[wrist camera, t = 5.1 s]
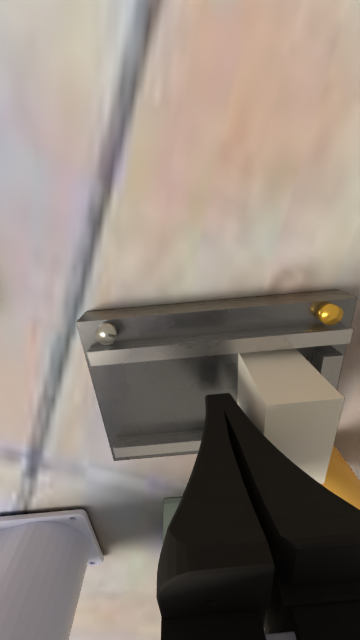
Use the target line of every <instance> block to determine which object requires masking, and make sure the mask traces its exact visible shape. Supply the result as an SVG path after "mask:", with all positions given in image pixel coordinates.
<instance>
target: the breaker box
mask: <svg viewBox="0 0 360 640" xmlns="http://www.w3.org/2000/svg"><path fill="white" fill-rule="evenodd" d="M356 300H357V297H354V296H352V295H349V294H347V293H344V292H342V291H340V290H327V291H316V292H304V293H293V294H281V295H270V296H259V297H247V298H236V299H224V300H213V301H202V302H190V303H179V304H167V305H156V306H144V307H133V308H122V309H110V310H99V311H87V312H85V313H84V314H83V315H82V316H81V318H80V319H79V320H78V321H77V322H76V324H77V328H78V331H79V335H80V339H81V342H82V346H83V350H84V353H85V357H86V361H87V364H88V368H89V371H90V375H91V379H92V382H93V386H94V390H95V393H96V397H97V401H98V404H99V408H100V411H101V415H102V419H103V422H104V426H105V430H106V433H107V437H108V441H109V444H110V448H111V452H112V455H113V459H114V461H118V460H129V459H140V458H152V457H163V456H174V455H185V454H196V453H198V452H199V448H200V444H201V439H202V435H203V430H204V423H205V416H206V408H205V396H206V395H211V394H222V393H230V394H231V395H232V397H233V398H234V400H235V401H236V402H237V393H238V353H247V352H258V351H270V350H281V349H292V348H296V349H297V350H298V351H299V352H300V353H301V355H302V356H303V357H304V358H305V359H306V360H307V361H308V362H309V363H310V364H311V365H312V366H313V367H314V368H315V369H316V370H317V371H318V372H319V373H320V374H321V375H322V376H323V377H324V378H325V379H326V380H327V381H328V382H329V383H330V384H331V385H332V386H333V387H334V388H335V389H336V390H337V386H338V381H339V377H340V372H341V368H342V363H343V359H344V354H345V350H346V345H347V344H349V343H350V341H351V337H352V332H353V328H351V323H352V318H353V314H354V309H355V305H356Z"/></svg>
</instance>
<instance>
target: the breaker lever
mask: <svg viewBox="0 0 360 640" xmlns="http://www.w3.org/2000/svg"><path fill="white" fill-rule="evenodd" d="M344 399H345V398H344V397H343V396H342V395H341V394H340V393H339V392H338V391H337V390H336V389H335V388H334V387H333V386H332V385H331V384H330V383H329V382H328V381H327V380H326V379H325V378H324V377H323V376H322V375H321V374H320V373H319V372H318V371H317V370H316V369H315V368H314V367H313V366H312V365H311V364H310V363H309V362H308V361H307V360H306V359H305V358H304V357H303V356H302V355H301V353H300V352H299V351H298V350H297V349H296V348H292V349H281V350H270V351H258V352H247V353H238V393H237V404H238V405H239V407H240V408H241V409H242V410H243V412H244V413H245V414H246V415H247V417H248V418H249V419H250V420H251V421H252V423H253V424H254V425H255V426H256V427H257V428H258V429H259V430H260V432H261V433H262V434H263V435H264V436H265V437H266V438H267V439H268V440H269V441H270V442H271V443H272V444H273V445H274V446H275V447H276V448H277V449H278V450H279V451H281V452H282V453H283V454H284V455H285V456H286V457H287V458H288V459H290V460H291V461H292V462H293V463H294V464H295V465H297V466H298V467H299V468H300V469H302V470H303V471H304V472H306V473H307V474H308V475H309V476H311V477H312V478H313V479H314V480H316V481H317V482H318V483H320V484H324V481H325V477H326V473H327V469H328V465H329V461H330V457H331V453H332V449H333V444H334V440H335V436H336V432H337V428H338V424H339V420H340V416H341V412H342V408H343V403H344Z"/></svg>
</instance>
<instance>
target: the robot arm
mask: <svg viewBox="0 0 360 640" xmlns="http://www.w3.org/2000/svg"><path fill="white" fill-rule="evenodd" d="M205 408H206V416H205V423H204V430H203V435H202V439H201V444H200V448H199V452H198V455H197V458H196V462H195V465H194V468H193V471H192V474H191V476H190V479H189V482H188V484H187V487H186V489H185V491H184V494H183V496H182V499H181V501H180V503H179V505H178V507H177V509H176V511H175V513H174V515H173V518H172V520H171V522H170V524H169V526H168V528H167V532H166V535H165V539H164V542H163V546H162V550H161V554H160V559H159V564H158V571H157V601H158V605H159V609H160V612H161V616H162V622H161V640H360V510H359V509H358V508H356V507H355V506H353V505H351V504H350V503H348V502H347V501H345V500H344V499H342V498H340V497H339V496H337V495H336V494H334V493H333V492H331V491H330V490H328V489H327V488H325V487H324V486H323V485H321V484H320V483H318V482H317V481H316V480H314V479H313V478H312V477H311V476H309V475H308V474H307V473H306V472H304V471H303V470H302V469H300V468H299V467H298V466H297V465H295V464H294V463H293V462H292V461H291V460H290V459H288V458H287V457H286V456H285V455H284V454H283V453H282V452H281V451H279V450H278V449H277V448H276V447H275V446H274V445H273V444H272V443H271V442H270V441H269V440H268V439H267V438H266V437H265V436H264V435H263V434H262V433H261V432H260V430H259V429H258V428H257V427H256V426H255V425H254V424H253V423H252V421H251V420H250V419H249V418H248V417H247V415H246V414H245V413H244V412H243V410H242V409H241V408H240V407H239V405H238V404H237V402H236V401H235V400H234V398H233V397H232V395H231V394H230V393H222V394H211V395H206V396H205ZM103 560H104V557H103V554H102V551H101V549H100V546H99V544H98V541H97V539H96V536H95V533H94V531H93V528H92V526H91V523H90V521H89V518H88V515H87V513H86V511H84V510H82V509H79V510H67V511H56V512H45V513H34V514H23V515H12V516H1V517H0V640H69V636H70V632H71V628H72V624H73V620H74V616H75V611H76V607H77V603H78V599H79V595H80V591H81V587H82V583H83V579H84V575H85V571H86V566H93V565H101V564H102V563H103ZM264 630H265V632H264Z"/></svg>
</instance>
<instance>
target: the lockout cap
mask: <svg viewBox="0 0 360 640" xmlns="http://www.w3.org/2000/svg"><path fill="white" fill-rule="evenodd" d="M321 485H323V486H324V487H325V488H327V489H328V490H330V491H331V492H333V493H334V494H336V495H337V496H339V497H340V498H342V499H344V500H345V501H347V502H348V503H350V504H351V505H353V506H355V507H356V508H358V509H359V510H360V480H359V479H358V477H357V476H356V475H355V473H354V472H353V471H352V469H351V468H350V466H349V465H348V464H347V462H346V461H345V460H344V458H343V457H342V455H341V454H340V453H339V451H338V450H337V449H336V447H335V446H334V445H333V449H332V453H331V457H330V461H329V465H328V469H327V473H326V477H325V481H324V484H321Z"/></svg>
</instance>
